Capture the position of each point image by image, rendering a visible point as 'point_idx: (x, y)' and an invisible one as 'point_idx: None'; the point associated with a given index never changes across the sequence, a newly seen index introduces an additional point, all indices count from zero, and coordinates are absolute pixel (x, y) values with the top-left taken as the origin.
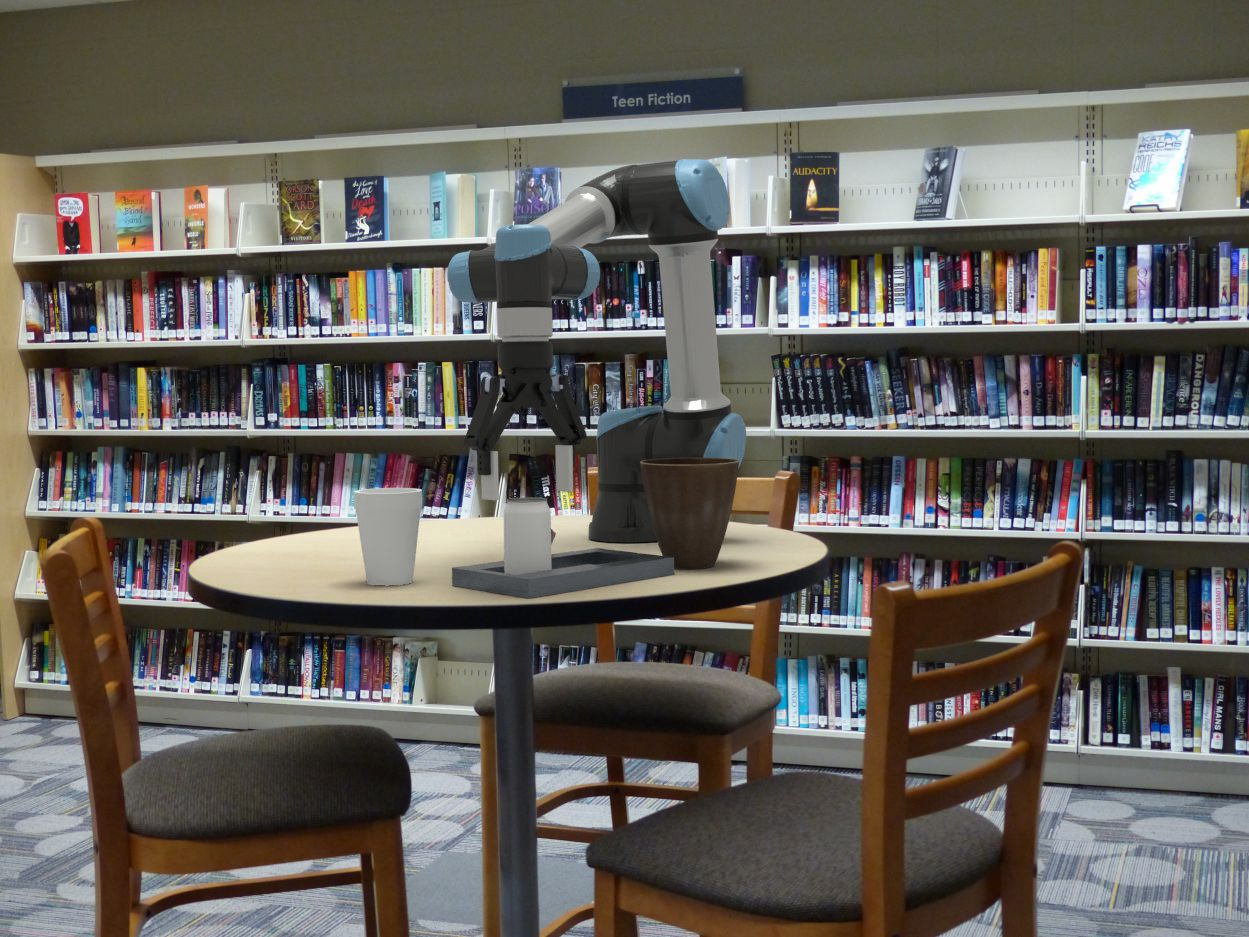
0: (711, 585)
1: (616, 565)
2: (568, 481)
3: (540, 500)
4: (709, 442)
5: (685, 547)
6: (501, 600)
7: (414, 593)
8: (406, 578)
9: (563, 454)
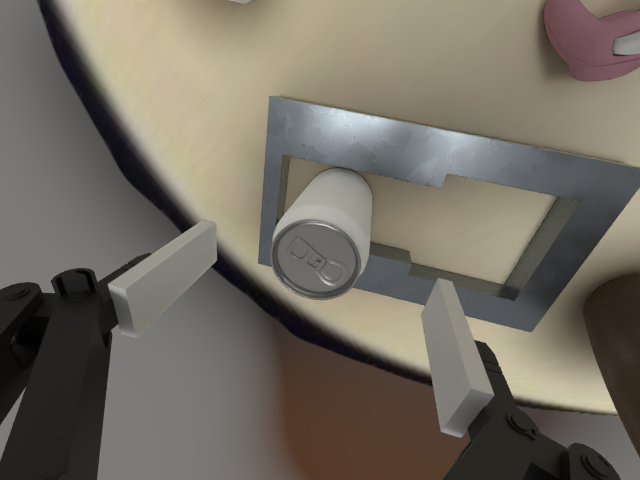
0: None
1: (414, 299)
2: (426, 331)
3: (308, 297)
4: None
5: (590, 340)
6: (240, 232)
7: (201, 96)
8: (238, 2)
9: (445, 384)
